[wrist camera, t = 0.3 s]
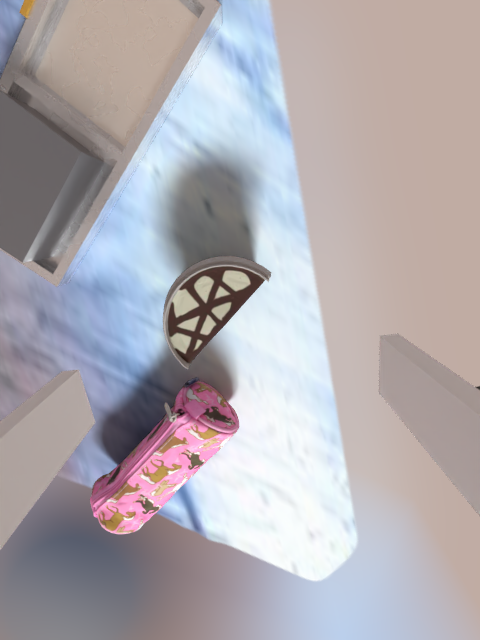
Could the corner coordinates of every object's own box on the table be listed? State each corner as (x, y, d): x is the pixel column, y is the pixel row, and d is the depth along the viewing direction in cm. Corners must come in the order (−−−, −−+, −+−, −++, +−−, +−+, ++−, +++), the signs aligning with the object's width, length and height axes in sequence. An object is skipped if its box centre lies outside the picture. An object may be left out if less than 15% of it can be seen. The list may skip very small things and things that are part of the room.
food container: (224, 225, 34) (218, 226, 24) (264, 262, 35) (273, 276, 26) (158, 305, 37) (130, 333, 27) (198, 336, 38) (184, 373, 29)
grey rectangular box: (-15, 211, 33) (-59, 209, 28) (34, 108, 30) (-6, 86, 25) (52, 257, 34) (22, 262, 29) (105, 163, 31) (81, 152, 26)
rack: (-41, 210, 33) (-64, 208, 31) (95, -96, 26) (80, -131, 23) (69, 282, 36) (56, 287, 33) (222, 22, 28) (220, 3, 26)
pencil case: (189, 362, 39) (176, 400, 31) (244, 402, 41) (245, 447, 33) (102, 464, 44) (70, 521, 36) (154, 495, 46) (135, 556, 38)
